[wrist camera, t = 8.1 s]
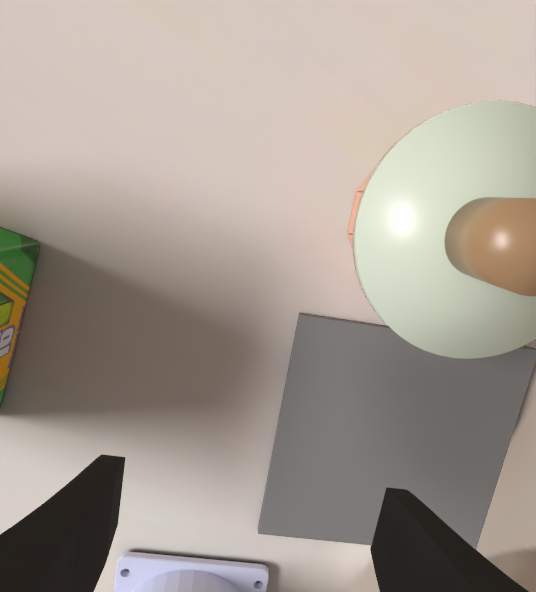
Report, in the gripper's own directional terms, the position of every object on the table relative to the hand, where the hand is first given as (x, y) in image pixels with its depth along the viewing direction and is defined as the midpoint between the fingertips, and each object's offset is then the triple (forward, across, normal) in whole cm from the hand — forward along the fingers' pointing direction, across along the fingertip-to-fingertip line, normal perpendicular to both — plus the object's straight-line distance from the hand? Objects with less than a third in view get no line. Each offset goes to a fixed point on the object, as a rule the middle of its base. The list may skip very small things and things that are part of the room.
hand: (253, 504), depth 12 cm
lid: (+5, -7, -8) cm, 12 cm away
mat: (+10, -8, +3) cm, 13 cm away
